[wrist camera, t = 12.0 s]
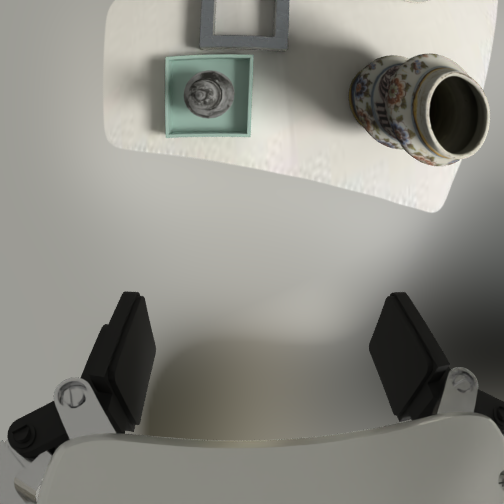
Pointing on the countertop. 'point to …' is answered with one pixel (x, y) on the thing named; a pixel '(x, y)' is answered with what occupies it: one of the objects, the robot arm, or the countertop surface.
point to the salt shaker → (209, 94)
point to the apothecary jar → (421, 107)
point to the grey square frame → (244, 42)
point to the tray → (190, 125)
